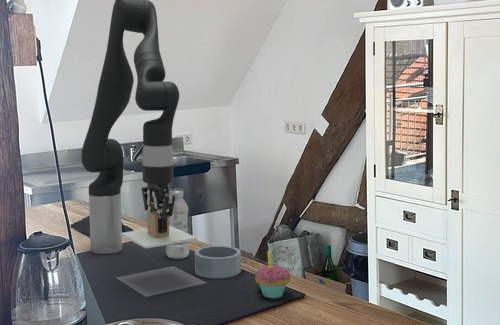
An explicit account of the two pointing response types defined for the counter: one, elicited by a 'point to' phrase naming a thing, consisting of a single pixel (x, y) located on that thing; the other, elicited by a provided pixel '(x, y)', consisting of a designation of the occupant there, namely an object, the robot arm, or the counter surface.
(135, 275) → the mat
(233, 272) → the bowl
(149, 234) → the lid
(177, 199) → the plastic bottle
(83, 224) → the dark slate chunk
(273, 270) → the cupcake
